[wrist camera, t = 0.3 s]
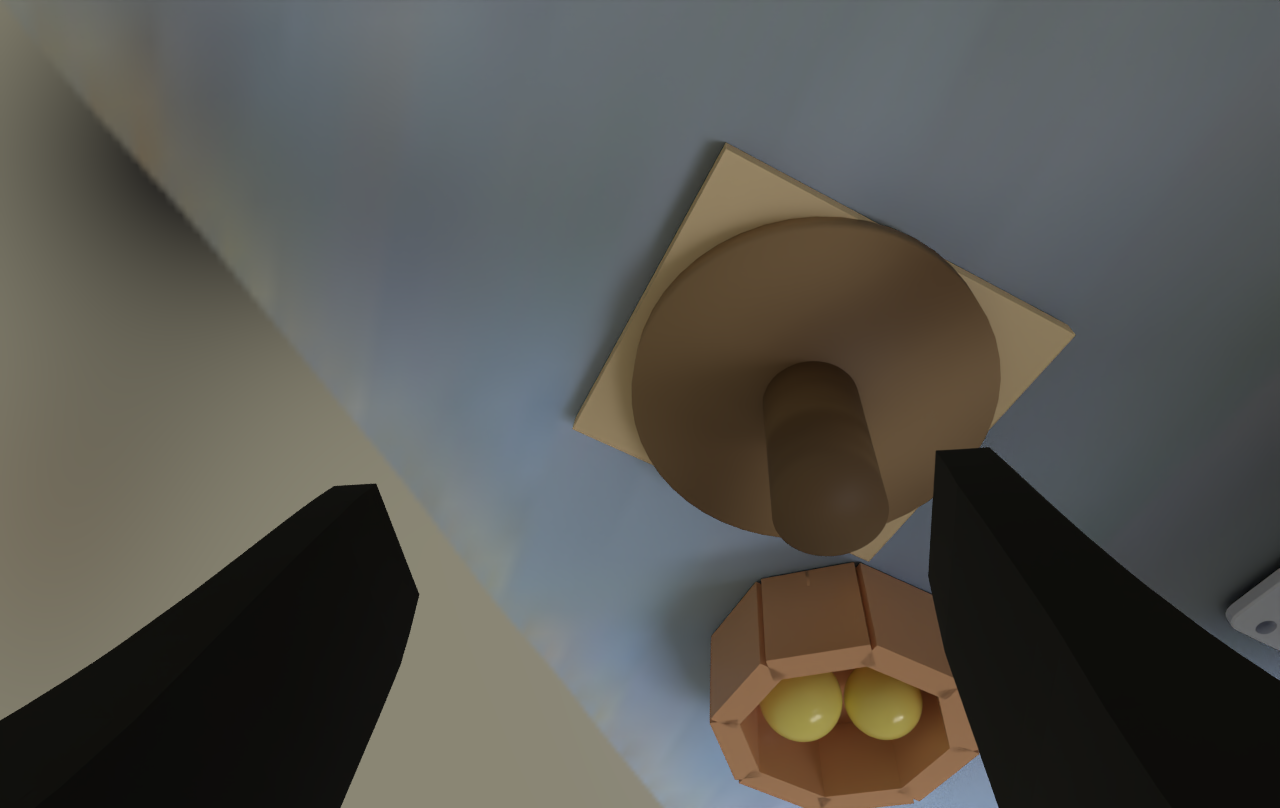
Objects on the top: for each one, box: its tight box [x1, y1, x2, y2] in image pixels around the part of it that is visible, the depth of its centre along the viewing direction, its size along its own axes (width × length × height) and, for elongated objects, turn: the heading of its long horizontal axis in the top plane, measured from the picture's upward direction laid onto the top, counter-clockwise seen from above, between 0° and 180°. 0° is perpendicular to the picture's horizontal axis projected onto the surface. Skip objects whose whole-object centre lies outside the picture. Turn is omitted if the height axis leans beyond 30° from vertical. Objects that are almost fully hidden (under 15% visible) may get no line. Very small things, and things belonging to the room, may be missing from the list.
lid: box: [632, 216, 1001, 556], centre depth 18 cm, size 8×8×5 cm
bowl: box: [710, 562, 979, 808], centre depth 24 cm, size 7×7×3 cm
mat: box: [573, 143, 1075, 562], centre depth 20 cm, size 9×8×1 cm
